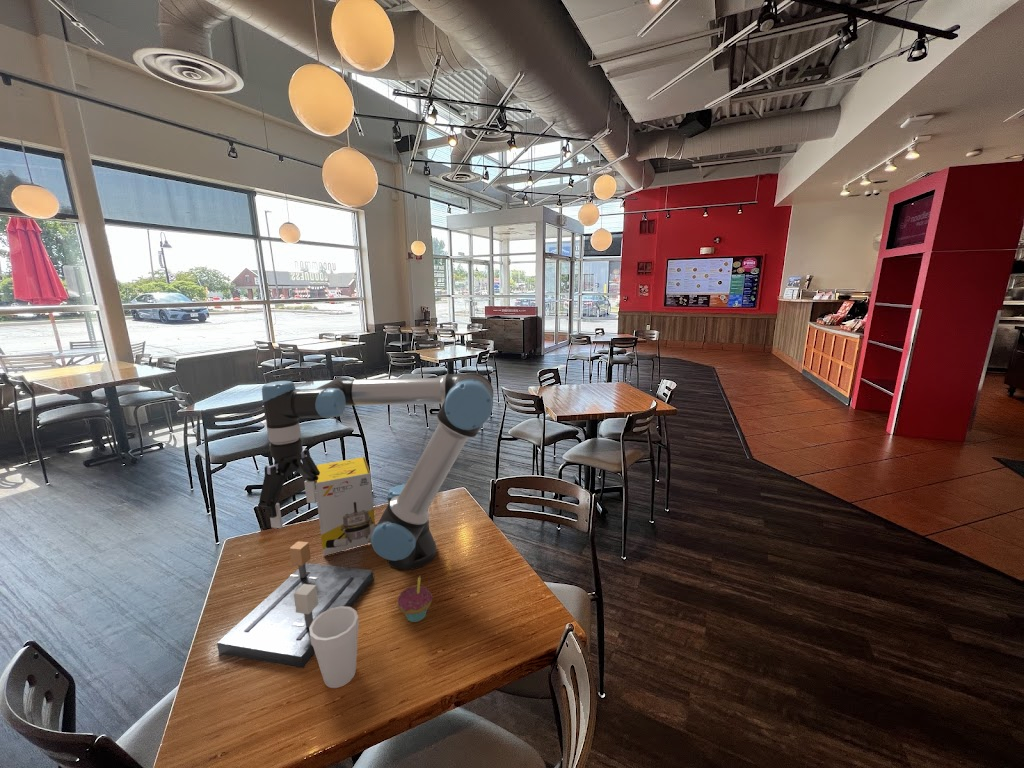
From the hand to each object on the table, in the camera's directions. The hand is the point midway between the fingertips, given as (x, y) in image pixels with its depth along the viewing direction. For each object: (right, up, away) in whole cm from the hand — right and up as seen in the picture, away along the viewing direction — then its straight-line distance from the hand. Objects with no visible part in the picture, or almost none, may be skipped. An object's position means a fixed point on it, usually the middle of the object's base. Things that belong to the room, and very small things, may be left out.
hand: (295, 514), depth 113 cm
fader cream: (+11, -22, -14) cm, 28 cm away
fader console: (+6, -24, -6) cm, 25 cm away
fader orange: (0, -19, +4) cm, 19 cm away
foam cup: (+22, -27, -24) cm, 43 cm away
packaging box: (+3, -17, +29) cm, 34 cm away
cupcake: (+35, -24, -7) cm, 43 cm away
